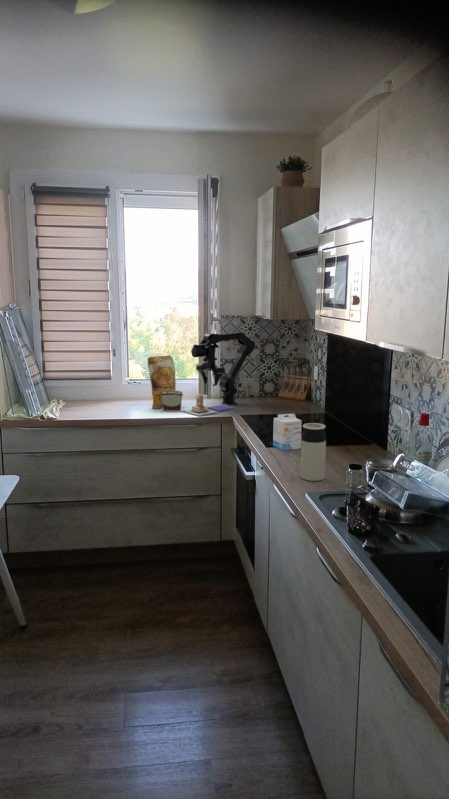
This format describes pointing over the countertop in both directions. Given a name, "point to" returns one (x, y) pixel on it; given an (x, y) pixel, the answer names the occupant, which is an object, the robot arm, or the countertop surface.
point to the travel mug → (313, 452)
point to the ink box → (287, 432)
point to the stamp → (199, 405)
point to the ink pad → (220, 408)
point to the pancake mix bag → (161, 377)
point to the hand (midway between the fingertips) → (210, 384)
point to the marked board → (200, 413)
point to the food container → (171, 400)
